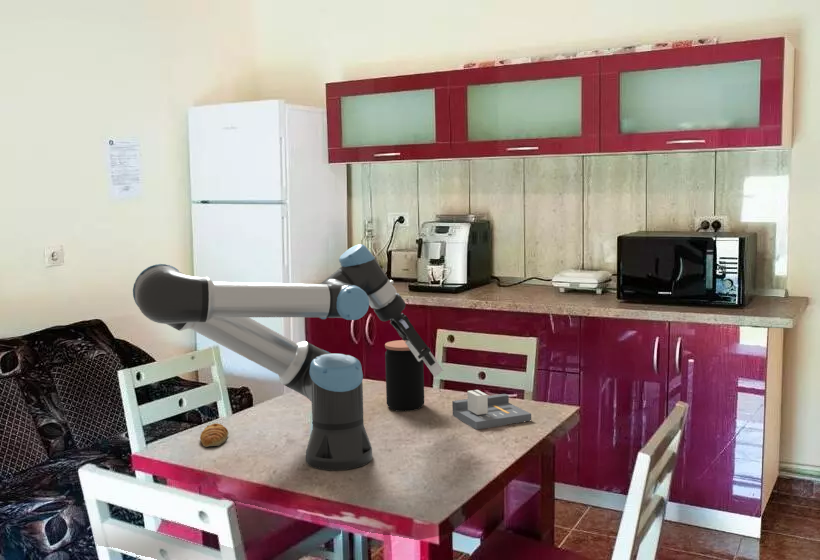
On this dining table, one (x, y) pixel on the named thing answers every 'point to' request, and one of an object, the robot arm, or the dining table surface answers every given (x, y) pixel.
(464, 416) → the grey slider base
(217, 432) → the pastry
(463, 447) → the dining table surface
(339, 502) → the dining table surface
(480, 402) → the fader
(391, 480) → the dining table surface
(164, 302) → the robot arm
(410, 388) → the coffee jar
